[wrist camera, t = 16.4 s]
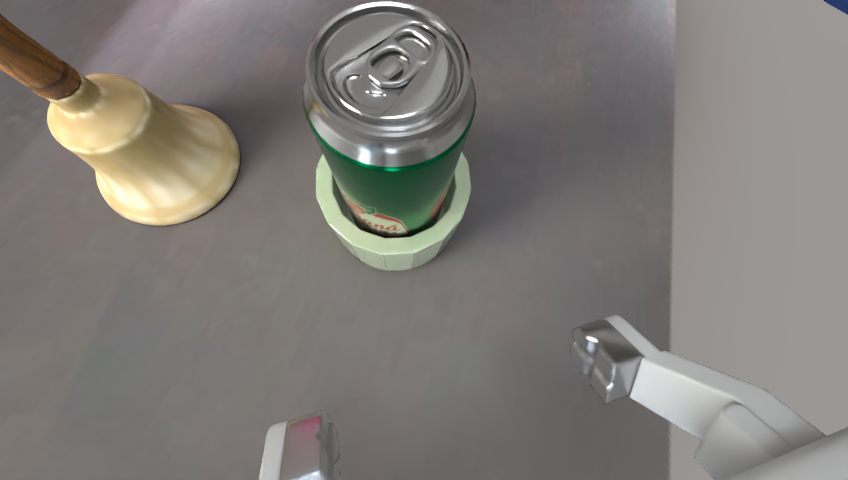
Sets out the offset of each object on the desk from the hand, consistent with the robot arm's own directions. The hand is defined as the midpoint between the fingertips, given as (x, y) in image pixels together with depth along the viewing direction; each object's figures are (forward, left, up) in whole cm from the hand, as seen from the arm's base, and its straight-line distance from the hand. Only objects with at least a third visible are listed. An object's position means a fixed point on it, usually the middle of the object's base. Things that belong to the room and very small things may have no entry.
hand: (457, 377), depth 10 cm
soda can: (+2, -8, -8) cm, 12 cm away
